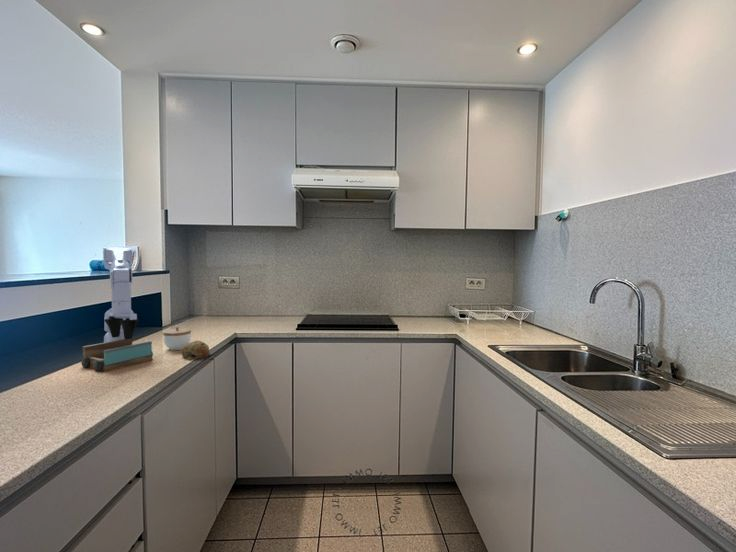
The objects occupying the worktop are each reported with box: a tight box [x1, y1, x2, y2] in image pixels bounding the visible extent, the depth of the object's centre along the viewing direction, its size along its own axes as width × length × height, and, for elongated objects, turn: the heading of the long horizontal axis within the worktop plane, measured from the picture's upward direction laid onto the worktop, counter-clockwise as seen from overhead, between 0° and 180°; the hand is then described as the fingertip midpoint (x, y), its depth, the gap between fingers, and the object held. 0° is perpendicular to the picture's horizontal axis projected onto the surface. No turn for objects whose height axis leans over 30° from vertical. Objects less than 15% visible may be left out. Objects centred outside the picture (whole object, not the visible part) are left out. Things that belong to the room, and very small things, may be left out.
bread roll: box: [181, 340, 210, 360], centre depth 137 cm, size 10×10×8 cm
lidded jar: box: [162, 326, 192, 351], centre depth 148 cm, size 11×11×9 cm
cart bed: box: [80, 338, 154, 373], centre depth 126 cm, size 14×18×7 cm
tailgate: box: [104, 340, 153, 365], centre depth 123 cm, size 1×16×5 cm, turn 155°
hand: (121, 338), depth 125 cm, fingers open, 7 cm apart
